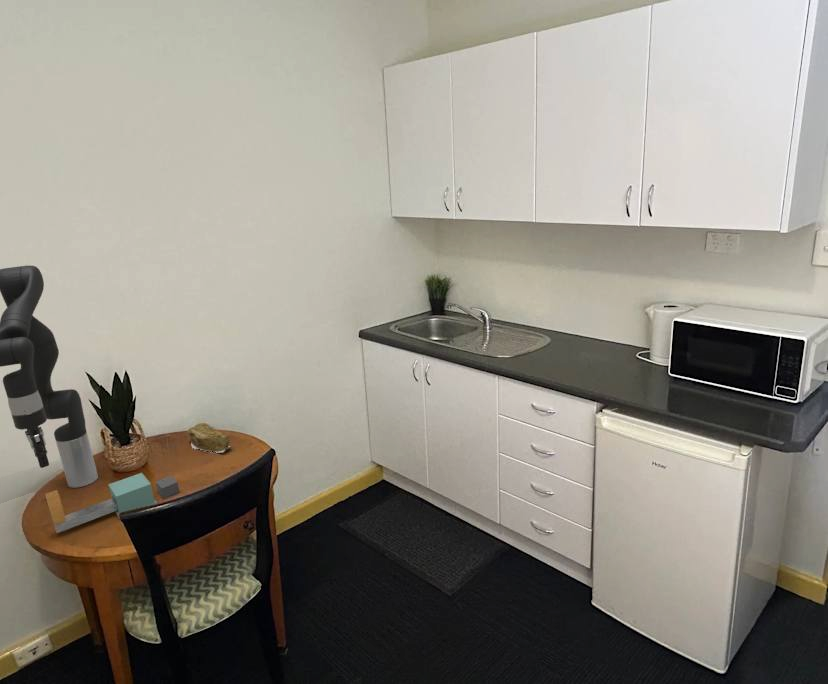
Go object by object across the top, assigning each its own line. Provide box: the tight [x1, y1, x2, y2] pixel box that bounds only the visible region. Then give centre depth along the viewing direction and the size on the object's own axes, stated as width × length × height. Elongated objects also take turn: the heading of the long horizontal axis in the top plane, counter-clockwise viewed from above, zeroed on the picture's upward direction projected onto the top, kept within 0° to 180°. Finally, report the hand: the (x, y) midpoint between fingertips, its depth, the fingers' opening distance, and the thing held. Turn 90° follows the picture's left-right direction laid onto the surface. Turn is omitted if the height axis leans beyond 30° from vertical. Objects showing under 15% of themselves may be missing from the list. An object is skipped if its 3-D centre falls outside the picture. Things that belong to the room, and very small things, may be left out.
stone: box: [186, 422, 231, 454], centre depth 219 cm, size 22×10×7 cm, turn 54°
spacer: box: [155, 475, 180, 500], centre depth 188 cm, size 6×4×5 cm
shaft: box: [44, 489, 118, 534], centre depth 174 cm, size 4×22×12 cm, turn 129°
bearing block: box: [108, 472, 158, 516], centre depth 182 cm, size 11×11×8 cm
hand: (42, 461), depth 164 cm, fingers open, 8 cm apart
